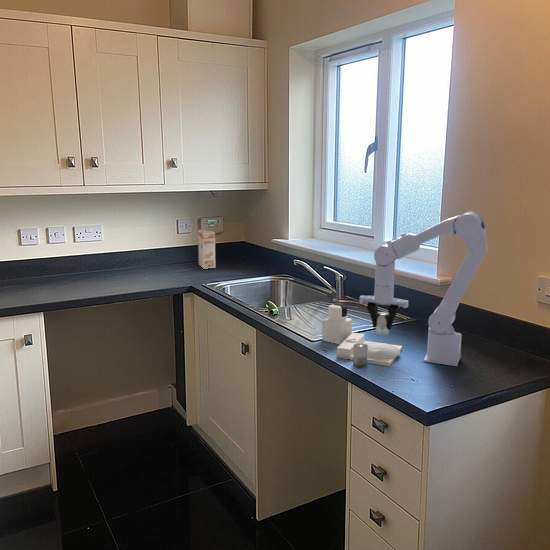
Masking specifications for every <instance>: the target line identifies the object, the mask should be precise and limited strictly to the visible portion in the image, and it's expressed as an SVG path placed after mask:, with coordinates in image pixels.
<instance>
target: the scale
mask: <svg viewBox="0 0 550 550" xmlns="http://www.w3.org/2000/svg"><path fill="white" fill-rule="evenodd" d="M365 335H366V334H365V333H361V332H359V333H358V332H352V334H351V335H350V336H349V337H348V338H346V339H345V340H344V341H343V342H342V343H341V344H340V345H338V346H337V348H336V358H337V357H338V358H337V359H341V358H344V359H343V360H347V359H350V360H349V361H353V351H354V344H357V343H362V344H366V345H368V356H367V364H374V365H379V366H385V367H386V366H387V367H391V366H392V364H393V363H394V361H395V360H396V359H397V357H400V355H401V351H402V350H403V346H402V345H398V344H389V343H385V342H376V341H369V340H365V338H366V337H365Z"/></svg>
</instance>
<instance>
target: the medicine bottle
mask: <svg viewBox="0 0 550 550" xmlns="http://www.w3.org/2000/svg"><path fill="white" fill-rule="evenodd" d="M327 311H328V312H327V313H328V314H327V315H328V316H327V317H326V318H325V319H322V332H321V333H322V334H321V335H322V336H321V338H322V339H321V340H322V341H323V340H324V341H323V342H326V341H327V343H330V342H331V344H334V343H335V345H338V344H339V345H340V344H341V343H342V342H343V341H344V340H345V339H346V338H348V337H349V336H350V335H351V334H352V333H353V318H350V317H349V318H348V306H347V305H346V304H343V303H332V304H329V305H328V310H327ZM339 345H338V346H339Z"/></svg>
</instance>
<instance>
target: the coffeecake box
mask: <svg viewBox="0 0 550 550" xmlns="http://www.w3.org/2000/svg"><path fill="white" fill-rule="evenodd" d="M197 243H198V244H197V245H198V247H197V248H198V266H199V265H200V266H201V267H202V268H203V269H208V268H217V267H216V266H217V265H216V264H217V263H216V233H215V232H214V231H213V230H212V229H210V228H209V229H205V228H204V229H198V230H197ZM200 266H199V267H200ZM201 267H200V268H201ZM202 268H201V269H202ZM203 269H202V270H203Z"/></svg>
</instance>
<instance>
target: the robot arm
mask: <svg viewBox="0 0 550 550" xmlns="http://www.w3.org/2000/svg"><path fill="white" fill-rule="evenodd" d="M446 234H447V235H451V236H455V235H456V234H457V235H458V236H459V237H460V238H461V239H462V240H463V242H464V244H465V246H466V248H467V252H466V254H465V255H464V258H463V260H462V261H461V264H460V265H459V268H458V270H457V272H456V274H455V276H454V277H453V279H452V281H451V283H450V285H449V287H448V289H447V291H446V293H445V295H444V297H443V298H442V299H441V302H440V304H439V305H438V306H437V307H436V308H435V309H434V312H433V313H432V314H431V315H429V317H428V321H427V323H428V331H427V332H428V334H427V348H426V355H425V356H424V358H423V362H425V363H434V364H439V365H440V364H441V365H447V366H454V367H458V364H459V362H460V359H461V357H462V352H461V349H462V333H460V332H456V331H455V328H454V327H453V325H452V324H453V323H454V322H455V320H456V313H457V312H456V311H457V309H458V307H459V305H460V303H461V301H462V299H463V297H464V295H465V293H466V291H467V290H468V288H469V285H470V284H471V282H472V280H473V278H474V277H475V275H476V273H477V270H478V269H479V267H480V265H481V263H482V262H483V259H484V257H485V256H486V253H487V252H488V249H489V246H488V238H487V237H488V236H487V231H486V223H485V222H484V220H483V217H481V215H480V214H479V213H478V212H476V211H467V212H465V213H463V214H462V215H461V214H458V215H455V216H453V217H450V218H446V219H445V220H442V221H440V222H438V223H436V224H434V225H432V226H430V227H429V228H427V229H424V230H422V231H420V232H419V233H416V234H415V233H412V232H408V233H406V232H404V233H401V234H400V236H399V237H398V238H395V239H394V240H388V241H387V242H386V244H383V245H381V246H379V247H378V248H376V249H375V251H374V253H373V260H374V261H375V270H374V271H375V272H374V292H373V293H374V294H373V295H360V296H359V304H367V306H366V309H367V312H368V314H369V315H370V318H371V323H372V328H375V329H376V313H378V312H379V311H378V310H379V309H378V308H379V305H382V306H389V307H388V309H387V310H388V311H387V313H389V321H388V329H389V331H390V330H391V329H392V328H393V324H394V320H395V317H396V315H397V313H398V311H399V309H400V308H403V309H407V308H408V307H409V300H408V299H407V300H406V299H401V298H396V297H394V295H395V271H396V270H395V263H396V262H395V261H397V260H400V259H401V260H402V259H403V258H405V257H407V256H409V255H411V254H413V253H416V252H418V251H419V250H420V247H421V245H422V244H424V243H426V242H429V241H431V240H433V239H436V238H438V237H441V236H443V235H446Z"/></svg>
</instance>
